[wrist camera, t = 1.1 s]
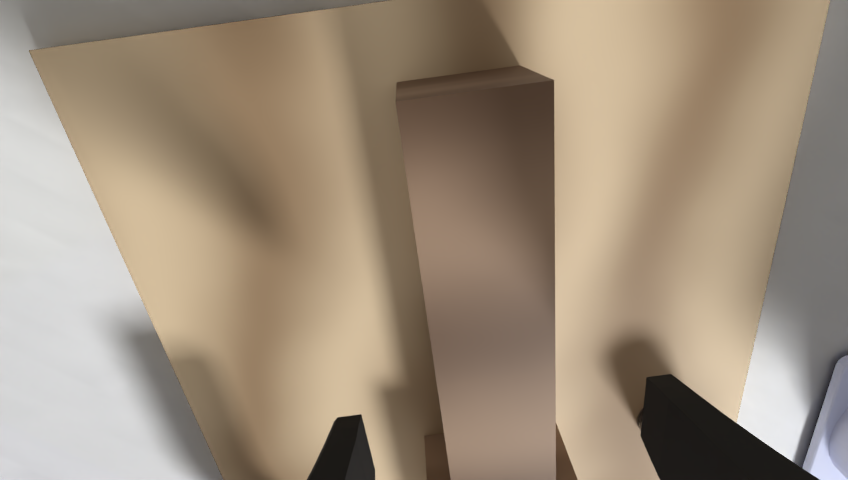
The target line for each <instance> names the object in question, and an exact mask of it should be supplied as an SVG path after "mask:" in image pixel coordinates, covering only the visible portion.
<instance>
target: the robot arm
mask: <svg viewBox="0 0 848 480" xmlns="http://www.w3.org/2000/svg"><path fill="white" fill-rule="evenodd" d="M640 436H641V438H642V441H643V443H644V445H645V448H646V450H647V452H648V455H649V457H650V459H651V462H652V464H653V466H654V468H655V470H656V472H657V475H658V477H659V479H660V480H848V355H846V356H844V357H842V358H841V359H840V360H838V362H837V363H836V366H835V369H834V372H833V375H832V378H831V381H830V384H829V387H828V390H827V393H826V396H825V400H824V403H823V406H822V409H821V412H820V415H819V418H818V421H817V424H816V427H815V430H814V434H813V437H812V440H811V443H810V446H809V449H808V452H807V455H806V458H805V461H804V465H803V468H801V467H799V466H798V465H796V464H795V463H793V462H792V461H790V460H789V459H787V458H786V457H784V456H783V455H781V454H780V453H778V452H777V451H775V450H774V449H772V448H771V447H769V446H768V445H767V444H765V443H764V442H762V441H761V440H759V439H758V438H756V437H755V436H754V435H752V434H751V433H749V432H748V431H747V430H745V429H744V428H743V427H741V426H740V425H738V424H737V423H736V422H734V421H733V420H732V419H730V418H729V417H727V416H726V415H725V414H723V413H722V412H721V411H719V410H718V409H717V408H715V407H714V406H713V405H711V404H710V403H709V402H707V401H706V400H705V399H703V398H702V397H701V396H700V395H698V394H697V393H696V392H694V391H693V390H692V389H690V388H689V387H688V386H686V385H685V384H684V383H682V382H681V381H680V380H678V379H677V378H676V377H674V376H673V375H672V374H667V375H659V376H651V377H647V378H646V387H645V397H644V406H643V416H642V425H641V435H640ZM307 480H375V467H374V463H373V459H372V455H371V451H370V447H369V443H368V439H367V435H366V431H365V427H364V423H363V419H362V415H361V414H359V415H352V416H344V417H337V419H336V420H335V421H334V422H333V425H332V427H331V430H330V432H329V434H328V437H327V439H326V441H325V443H324V446H323V448H322V450H321V452H320V454H319V456H318V458H317V460H316V463H315V465H314V467H313V469H312V471H311V473H310V474H309V476H308V478H307Z"/></svg>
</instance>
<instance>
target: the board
mask: <svg viewBox="0 0 848 480" xmlns="http://www.w3.org/2000/svg"><path fill="white" fill-rule="evenodd" d="M829 4H830V0H389V1H382V2H374V3H367V4H360V5H353V6H346V7H338V8H331V9H324V10H317V11H309V12H302V13H295V14H288V15H281V16H273V17H266V18H259V19H252V20H245V21H237V22H230V23H223V24H216V25H209V26H201V27H194V28H187V29H180V30H172V31H165V32H158V33H151V34H144V35H136V36H129V37H122V38H115V39H108V40H100V41H93V42H86V43H79V44H71V45H64V46H57V47H50V48H43V49H35V50H29V52H30V54H31V57H32V59H33V61H34V63H35V65H36V68H37V70H38V72H39V74H40V76H41V79H42V81H43V83H44V85H45V87H46V90H47V92H48V94H49V96H50V98H51V101H52V103H53V105H54V107H55V109H56V112H57V114H58V116H59V118H60V121H61V123H62V125H63V127H64V129H65V132H66V134H67V136H68V138H69V140H70V143H71V145H72V147H73V149H74V151H75V154H76V156H77V158H78V160H79V162H80V165H81V167H82V169H83V171H84V173H85V176H86V178H87V180H88V182H89V184H90V187H91V189H92V191H93V193H94V195H95V198H96V200H97V202H98V204H99V206H100V209H101V211H102V213H103V215H104V217H105V220H106V222H107V224H108V226H109V228H110V231H111V233H112V235H113V237H114V239H115V242H116V244H117V246H118V248H119V251H120V253H121V255H122V257H123V259H124V262H125V264H126V266H127V268H128V270H129V273H130V275H131V277H132V279H133V281H134V284H135V286H136V288H137V290H138V292H139V295H140V297H141V299H142V301H143V303H144V306H145V308H146V310H147V312H148V314H149V317H150V319H151V321H152V323H153V325H154V328H155V330H156V332H157V334H158V336H159V339H160V341H161V343H162V345H163V347H164V350H165V352H166V354H167V356H168V358H169V361H170V363H171V365H172V367H173V369H174V372H175V374H176V376H177V378H178V381H179V383H180V385H181V387H182V389H183V392H184V394H185V396H186V398H187V400H188V403H189V405H190V407H191V409H192V411H193V414H194V416H195V418H196V420H197V422H198V425H199V427H200V429H201V431H202V433H203V436H204V438H205V440H206V442H207V444H208V447H209V449H210V451H211V453H212V455H213V458H214V460H215V462H216V464H217V466H218V469H219V471H220V473H221V475H222V477H223V480H307V478H308V476H309V474H310V473H311V471H312V469H313V467H314V465H315V463H316V460H317V458H318V456H319V454H320V452H321V450H322V448H323V446H324V443H325V441H326V439H327V437H328V434H329V432H330V430H331V427H332V425H333V422H334V421H335V420H336V419H337V417H344V416H352V415H359V414H361V415H362V419H363V423H364V427H365V431H366V435H367V439H368V443H369V447H370V451H371V455H372V459H373V463H374V467H375V480H427V476H426V458H425V440H424V436H427V435H435V434H443V433H444V430H443V423H442V416H441V409H440V402H439V396H438V389H437V382H436V375H435V368H434V362H433V355H432V348H431V341H430V334H429V327H428V321H427V314H426V307H425V300H424V293H423V287H422V280H421V273H420V266H419V259H418V252H417V246H416V239H415V232H414V225H413V218H412V212H411V205H410V198H409V191H408V184H407V177H406V171H405V164H404V157H403V150H402V143H401V137H400V130H399V123H398V116H397V109H396V102H395V100H396V84H397V82H401V81H409V80H416V79H423V78H431V77H438V76H445V75H453V74H460V73H467V72H475V71H482V70H489V69H497V68H504V67H512V66H519V65H520V66H523V67H525V68H527V69H530V70H532V71H534V72H537V73H539V74H541V75H544V76H546V77H548V78H550V79H553V80H554V152H555V370H556V424H557V426H558V429H559V432H560V434H561V437H562V440H563V442H564V445H565V448H566V450H567V453H568V455H569V458H570V461H571V463H572V466H573V469H574V471H575V474H576V476H577V479H578V480H660V479H659V477H658V475H657V472H656V470H655V468H654V466H653V464H652V462H651V459H650V457H649V455H648V452H647V450H646V448H645V445H644V443H643V441H642V438H641V436H640V435H641V431H640V429H639V427H638V425H637V418H638V415H639V413H640V411H641V410H642V409H643V406H644V397H645V387H646V378H647V377H651V376H659V375H667V374H672V375H673V376H674V377H676V378H677V379H678V380H680V381H681V382H682V383H684V384H685V385H686V386H688V387H689V388H690V389H692V390H693V391H694V392H696V393H697V394H698V395H700V396H701V397H702V398H703V399H705V400H706V401H707V402H709V403H710V404H711V405H713V406H714V407H715V408H717V409H718V410H719V411H721V412H722V413H723V414H725V415H726V416H727V417H729V418H730V419H732V420H733V421H734V422H737V418H738V413H739V409H740V404H741V400H742V395H743V391H744V386H745V382H746V377H747V373H748V368H749V364H750V359H751V355H752V350H753V346H754V341H755V337H756V332H757V328H758V323H759V319H760V314H761V310H762V305H763V301H764V296H765V292H766V287H767V283H768V278H769V274H770V269H771V265H772V260H773V256H774V251H775V247H776V242H777V238H778V233H779V229H780V224H781V220H782V215H783V211H784V206H785V202H786V197H787V193H788V188H789V184H790V179H791V175H792V170H793V166H794V161H795V157H796V152H797V148H798V143H799V139H800V134H801V130H802V125H803V121H804V116H805V112H806V107H807V103H808V98H809V94H810V89H811V85H812V80H813V76H814V71H815V67H816V62H817V58H818V53H819V49H820V44H821V40H822V35H823V31H824V26H825V22H826V17H827V13H828V8H829Z"/></svg>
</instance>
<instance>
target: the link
mask: <svg viewBox="0 0 848 480" xmlns="http://www.w3.org/2000/svg"><path fill="white" fill-rule="evenodd" d="M395 102H396V109H397V116H398V123H399V130H400V137H401V143H402V150H403V157H404V164H405V171H406V177H407V184H408V191H409V198H410V205H411V212H412V218H413V225H414V232H415V239H416V246H417V252H418V259H419V266H420V273H421V280H422V287H423V293H424V300H425V307H426V314H427V321H428V327H429V334H430V341H431V348H432V355H433V362H434V368H435V375H436V382H437V389H438V396H439V402H440V409H441V416H442V423H443V430H444V433H443V434H435V435H427V436H424V440H425V458H426V476H427V480H578V479H577V476H576V474H575V471H574V469H573V466H572V463H571V461H570V458H569V455H568V453H567V450H566V448H565V445H564V442H563V440H562V437H561V434H560V432H559V429H558V426H557V424H556V370H555V152H554V80H553V79H550V78H548V77H546V76H544V75H541V74H539V73H537V72H534V71H532V70H530V69H527V68H525V67H523V66H520V65H519V66H512V67H504V68H497V69H489V70H482V71H475V72H467V73H460V74H453V75H445V76H438V77H431V78H423V79H416V80H409V81H401V82H397V84H396V100H395Z"/></svg>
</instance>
